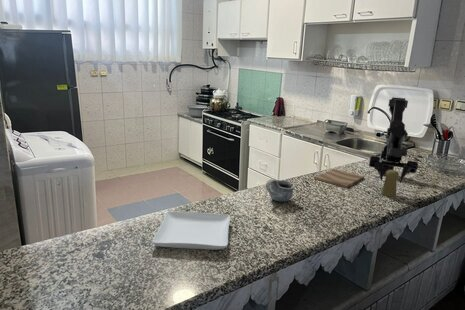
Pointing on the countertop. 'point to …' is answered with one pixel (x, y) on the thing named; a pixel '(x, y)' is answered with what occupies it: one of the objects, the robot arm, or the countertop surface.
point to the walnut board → (339, 178)
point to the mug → (280, 189)
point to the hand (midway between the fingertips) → (390, 181)
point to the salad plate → (193, 230)
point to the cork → (390, 184)
